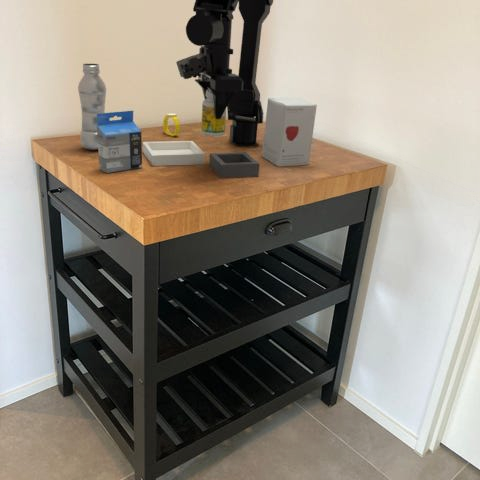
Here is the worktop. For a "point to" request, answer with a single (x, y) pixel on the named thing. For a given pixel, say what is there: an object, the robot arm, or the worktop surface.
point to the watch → (177, 124)
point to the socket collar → (233, 165)
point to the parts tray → (173, 153)
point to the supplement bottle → (211, 118)
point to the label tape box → (118, 142)
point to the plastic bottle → (91, 104)
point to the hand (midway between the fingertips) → (213, 115)
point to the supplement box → (288, 131)
